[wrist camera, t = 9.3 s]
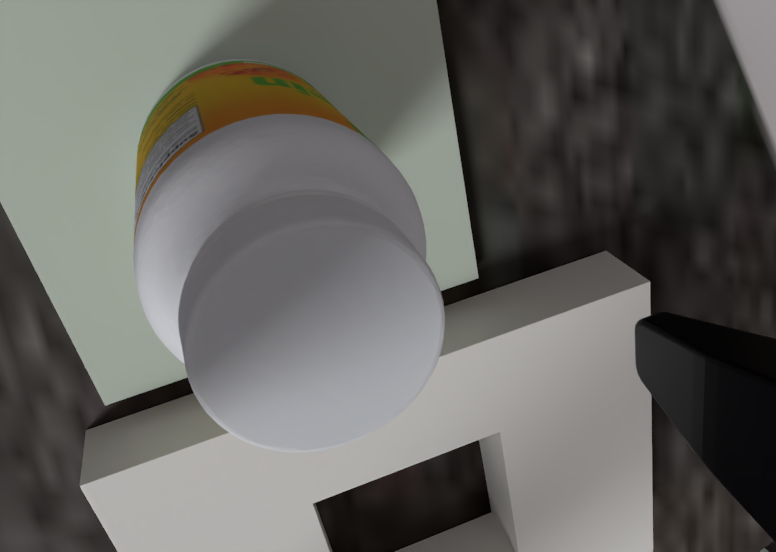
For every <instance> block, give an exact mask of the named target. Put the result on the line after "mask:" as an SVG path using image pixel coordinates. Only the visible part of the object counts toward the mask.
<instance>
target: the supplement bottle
mask: <svg viewBox="0 0 776 552" xmlns="http://www.w3.org/2000/svg"><path fill="white" fill-rule="evenodd" d="M133 261H134V273H135V280H136V287H137V292H138V295H139V299H140V302H141V305H142V308H143V310H144V313H145V315H146V317H147V319H148V321H149V323H150V325H151V327H152V328H153V330H154V332H155V334H156V335H157V336H158V338H159V339H160V340H161V342H162V343H163V344H164V345H165V346H166V347H167V348H168V350H169V351H170V352H171V353H172V354H173V355H174V356H175V357H177V358H178V359H179V360H180V361H181V362H183V363H184V364H185V369H186V372H187V376H188V380H189V383H190V385H191V388H192V390H193V393H194V394H195V396H196V398H197V399H198V401H199V403H200V404H201V406H202V407H203V409H204V410H205V411H206V412H207V414H208V415H209V416H210V417H211V418H212V419H213V420H214V421H215V422H216V423H217V424H218V425H220V426H221V427H222V428H223V429H225V430H226V431H228V432H229V433H231V434H232V435H233V436H235V437H237V438H239V439H241V440H243V441H245V442H247V443H250V444H253V445H256V446H258V447H262V448H265V449H269V450H275V451H282V452H294V453H297V452H315V451H321V450H328V449H332V448H336V447H339V446H343V445H346V444H349V443H352V442H354V441H357V440H359V439H362V438H364V437H366V436H368V435H370V434H372V433H373V432H375V431H376V430H378V429H380V428H381V427H383V426H385V425H386V424H388V423H389V422H390V421H392V420H393V419H394V418H395V417H397V416H398V415H399V414H400V413H401V412H402V411H403V410H405V409H406V408H407V407H408V405H409V404H410V403H411V402H412V401H413V400H414V399H415V398H416V397H417V396H418V394H419V393H420V392H421V390H422V389H423V388H424V386H425V384H426V383H427V381H428V379H429V378H430V376H431V374H432V373H433V371H434V369H435V367H436V364H437V362H438V359H439V356H440V353H441V349H442V345H443V340H444V333H445V310H444V303H443V298H442V294H441V291H440V287H439V285H438V283H437V280H436V278H435V276H434V274H433V272H432V270H431V268H430V267H429V265H428V264H427V263H426V234H425V229H424V223H423V219H422V215H421V212H420V209H419V206H418V203H417V201H416V198H415V195H414V193H413V191H412V189H411V188H410V186H409V185H408V183H407V181H406V180H405V178H404V177H403V175H402V174H401V172H400V171H399V170H398V169H397V168H396V166H395V165H394V164H393V163H392V162H391V160H390V159H389V158H388V157H387V156H386V155H385V154H384V153H383V152H382V151H381V150H380V149H379V148H378V147H377V146H376V145H375V144H374V143H373V142H372V141H371V140H370V139H368V138H367V137H366V136H365V135H364V134H363V133H362V132H361V131H360V130H359V129H358V128H357V127H356V126H354V125H353V124H352V123H351V122H350V121H349V120H348V119H347V118H346V117H345V116H344V115H343V114H342V113H341V112H339V111H338V110H337V109H336V108H335V107H334V106H333V105H332V104H331V103H330V102H329V101H328V100H327V99H326V98H325V97H324V96H323V95H322V94H321V93H320V92H319V91H318V90H317V89H316V88H314V87H313V86H312V85H311V84H309V83H308V82H307V81H306V80H304V79H303V78H301V77H300V76H298V75H297V74H295V73H293V72H291V71H289V70H287V69H285V68H283V67H281V66H278V65H275V64H272V63H268V62H264V61H259V60H251V59H230V60H223V61H218V62H214V63H210V64H207V65H205V66H202V67H200V68H197V69H195V70H193V71H191V72H189V73H188V74H186V75H185V76H183V77H182V78H180V79H179V80H177V81H176V82H175V83H174V84H173V85H172V86H170V87H169V88H168V89H167V90H166V91H165V92H164V93H163V95H162V96H161V97H160V98H159V100H158V101H157V102H156V103H155V105H154V106H153V108H152V109H151V111H150V113H149V115H148V116H147V118H146V121H145V123H144V126H143V128H142V132H141V135H140V139H139V144H138V150H137V160H136V186H135V223H134V252H133Z"/></svg>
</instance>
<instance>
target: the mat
mask: <svg viewBox="0 0 776 552" xmlns="http://www.w3.org/2000/svg"><path fill="white" fill-rule="evenodd" d="M230 59H251V60H259V61H264V62H268V63H272V64H275V65H278V66H281V67H283V68H285V69H287V70H289V71H291V72H293V73H295V74H297V75H298V76H300V77H301V78H303V79H304V80H306V81H307V82H308V83H309V84H311V85H312V86H313V87H314V88H316V89H317V90H318V91H319V92H320V93H321V94H322V95H323V96H324V97H325V98H326V99H327V100H328V101H329V102H330V103H331V104H332V105H333V106H334V107H335V108H336V109H337V110H338V111H339V112H341V113H342V114H343V115H344V116H345V117H346V118H347V119H348V120H349V121H350V122H351V123H352V124H353V125H354V126H356V127H357V128H358V129H359V130H360V131H361V132H362V133H363V134H364V135H365V136H366V137H367V138H368V139H370V140H371V141H372V142H373V143H374V144H375V145H376V146H377V147H378V148H379V149H380V150H381V151H382V152H383V153H384V154H385V155H386V156H387V157H388V158H389V159H390V160H391V162H392V163H393V164H394V165H395V166H396V168H397V169H398V170H399V171H400V172H401V174H402V175H403V177H404V178H405V180H406V181H407V183H408V185H409V186H410V188H411V189H412V191H413V193H414V195H415V198H416V201H417V203H418V206H419V209H420V212H421V215H422V219H423V223H424V229H425V234H426V263H427V264H428V265H429V267H430V268H431V270H432V272H433V274H434V276H435V278H436V280H437V283H438V285H439V287H440V291H443V290H446V289H448V288H451V287H454V286H457V285H460V284H463V283H466V282H469V281H472V280H475V279H478V278H479V277H478V271H477V264H476V257H475V251H474V244H473V238H472V231H471V225H470V218H469V211H468V205H467V198H466V192H465V185H464V179H463V172H462V165H461V159H460V152H459V146H458V139H457V132H456V126H455V119H454V113H453V106H452V100H451V93H450V86H449V80H448V73H447V67H446V60H445V54H444V47H443V40H442V34H441V27H440V21H439V14H438V8H437V1H436V0H0V202H1V204H2V206H3V208H4V210H5V212H6V214H7V216H8V218H9V220H10V221H11V223H12V225H13V227H14V229H15V231H16V233H17V235H18V237H19V239H20V241H21V243H22V245H23V247H24V249H25V251H26V253H27V255H28V256H29V258H30V260H31V262H32V264H33V266H34V268H35V270H36V272H37V274H38V276H39V278H40V280H41V282H42V284H43V286H44V288H45V290H46V291H47V293H48V295H49V297H50V299H51V301H52V303H53V305H54V307H55V309H56V311H57V313H58V315H59V317H60V319H61V321H62V323H63V325H64V326H65V328H66V330H67V332H68V334H69V336H70V338H71V340H72V342H73V344H74V346H75V348H76V350H77V352H78V354H79V356H80V358H81V360H82V362H83V363H84V365H85V367H86V369H87V371H88V373H89V375H90V377H91V379H92V381H93V383H94V385H95V387H96V389H97V391H98V393H99V395H100V397H101V398H102V400H103V402H104V404H105V406H106V405H108V404H111V403H114V402H117V401H120V400H123V399H126V398H129V397H132V396H135V395H138V394H141V393H144V392H147V391H150V390H152V389H155V388H158V387H161V386H164V385H167V384H170V383H173V382H176V381H179V380H182V379H185V378H188V376H187V372H186V369H185V364H184V363H183V362H181V361H180V360H179V359H178V358H177V357H175V356H174V355H173V354H172V353H171V352H170V351H169V350H168V348H167V347H166V346H165V345H164V344H163V343H162V342H161V340H160V339H159V338H158V336H157V335H156V334H155V332H154V330H153V328H152V327H151V325H150V323H149V321H148V319H147V317H146V315H145V313H144V310H143V308H142V305H141V302H140V299H139V295H138V292H137V287H136V280H135V273H134V261H133V252H134V223H135V186H136V160H137V150H138V144H139V139H140V135H141V132H142V128H143V126H144V123H145V121H146V118H147V116H148V115H149V113H150V111H151V109H152V108H153V106H154V105H155V103H156V102H157V101H158V100H159V98H160V97H161V96H162V95H163V93H164V92H165V91H166V90H167V89H168V88H169V87H170V86H172V85H173V84H174V83H175V82H176V81H177V80H179V79H180V78H182V77H183V76H185V75H186V74H188V73H189V72H191V71H193V70H195V69H197V68H200V67H202V66H205V65H207V64H210V63H214V62H218V61H223V60H230Z"/></svg>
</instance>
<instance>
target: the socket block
mask: <svg viewBox="0 0 776 552" xmlns="http://www.w3.org/2000/svg"><path fill="white" fill-rule="evenodd" d="M444 310H445V333H444V340H443V345H442V349H441V353H440V356H439V359H438V362H437V364H436V367H435V369H434V371H433V373H432V374H431V376H430V378H429V379H428V381H427V383H426V384H425V386H424V388H423V389H422V390H421V392H420V393H419V394H418V396H417V397H416V398H415V399H414V400H413V401H412V402H411V403H410V404H409V405H408V407H407V408H406V409H405V410H403V411H402V412H401V413H400V414H399V415H398V416H397V417H395V418H394V419H393V420H392V421H390V422H389V423H388V424H386V425H385V426H383V427H381V428H380V429H378V430H376V431H375V432H373V433H372V434H370V435H368V436H366V437H364V438H362V439H359V440H357V441H354V442H352V443H349V444H346V445H343V446H339V447H336V448H332V449H328V450H321V451H315V452H297V453H294V452H282V451H275V450H269V449H265V448H262V447H258V446H256V445H253V444H250V443H247V442H245V441H243V440H241V439H239V438H237V437H235V436H233V435H232V434H231V433H229V432H228V431H226V430H225V429H223V428H222V427H221V426H220V425H218V424H217V423H216V422H215V421H214V420H213V419H212V418H211V417H210V416H209V415H208V414H207V412H206V411H205V410H204V409H203V407H202V406H201V404H200V403H199V401H198V399H197V398H196V396H195V394H194V393H192V394H189V395H187V396H184V397H181V398H178V399H175V400H172V401H169V402H166V403H163V404H161V405H158V406H155V407H152V408H149V409H146V410H143V411H140V412H137V413H135V414H132V415H129V416H126V417H123V418H120V419H117V420H114V421H111V422H108V423H106V424H103V425H100V426H97V427H94V428H91V429H88V430H86V435H85V443H84V452H83V461H82V470H81V478H80V488H81V489H82V491H83V493H84V495H85V496H86V498H87V500H88V501H89V503H90V505H91V507H92V508H93V510H94V512H95V513H96V515H97V517H98V519H99V520H100V522H101V524H102V526H103V527H104V529H105V531H106V532H107V534H108V536H109V538H110V539H111V541H112V543H113V544H114V546H115V548H116V550H117V551H118V552H333V551H332V549H331V546H330V543H329V540H328V537H327V534H326V532H325V529H324V526H323V523H322V520H321V517H320V515H319V512H318V509H317V506H316V502H318V501H321V500H324V499H326V498H329V497H331V496H334V495H337V494H339V493H342V492H344V491H347V490H350V489H352V488H355V487H357V486H360V485H363V484H365V483H368V482H370V481H373V480H376V479H378V478H381V477H383V476H386V475H389V474H391V473H394V472H396V471H399V470H402V469H404V468H407V467H409V466H412V465H415V464H417V463H420V462H422V461H425V460H428V459H430V458H433V457H435V456H438V455H441V454H443V453H446V452H448V451H451V450H454V449H456V448H459V447H461V446H464V445H467V444H469V443H472V442H474V441H477V440H479V444H480V450H481V455H482V461H483V467H484V472H485V478H486V484H487V490H488V495H489V501H490V507H491V513H488V514H486V515H483V516H481V517H478V518H476V519H474V520H471V521H469V522H466V523H464V524H461V525H459V526H456V527H454V528H451V529H449V530H446V531H444V532H441V533H439V534H437V535H434V536H432V537H429V538H427V539H424V540H422V541H419V542H417V543H414V544H412V545H409V546H407V547H405V548H402V549H400V550H397V551H395V552H653V497H652V402H651V393H650V392H649V391H648V389H647V388H646V387H645V385H644V384H643V382H642V381H641V379H640V377H639V375H638V373H637V369H636V363H635V325H636V323H637V322H638V321H639V320H640V319H642V318H645V317H648V316H650V315H651V307H650V281H649V280H647V279H646V278H645V277H643V276H642V275H640V274H639V273H637V272H636V271H635V270H633V269H632V268H630V267H629V266H627V265H626V264H624V263H623V262H622V261H620V260H619V259H617V258H616V257H614V256H613V255H612V254H610V253H609V252H607V251H603V252H600V253H597V254H595V255H592V256H589V257H586V258H583V259H580V260H577V261H574V262H571V263H569V264H566V265H563V266H560V267H557V268H554V269H551V270H548V271H545V272H542V273H540V274H537V275H534V276H531V277H528V278H525V279H522V280H519V281H516V282H514V283H511V284H508V285H505V286H502V287H499V288H496V289H493V290H490V291H488V292H485V293H482V294H479V295H476V296H473V297H470V298H467V299H464V300H461V301H459V302H456V303H453V304H450V305H447V306H444Z"/></svg>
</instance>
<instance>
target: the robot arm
mask: <svg viewBox="0 0 776 552" xmlns="http://www.w3.org/2000/svg"><path fill="white" fill-rule="evenodd" d="M635 363H636V369H637V373H638V375H639V377H640V379H641V381H642V382H643V384H644V385H645V387H646V388H647V389H648V391H649V392H650V393H651V395H652V396H653V397H654V399H655V400H656V401H657V403H658V404H659V405H660V407H661V408H662V409H663V411H664V412H665V414H666V415H667V416H668V418H669V419H670V420H671V422H672V423H673V424H674V426H675V427H676V428H677V430H678V431H679V432H680V434H681V435H682V436H683V438H684V439H685V441H686V442H687V443H688V445H689V446H690V447H691V449H692V450H693V451H694V452H695V454H696V455H697V456H698V457H699V459H700V460H701V461H702V462H703V464H704V465H705V466H706V467H707V468H708V469H709V470H710V472H711V473H712V474H713V475H714V476H715V477H716V478H717V479H718V480H719V481H720V483H721V484H722V485H723V486H724V487H725V488H726V489H727V490H728V491H729V492H730V493H731V495H732V496H733V497H734V498H735V499H736V500H737V501H738V502H739V503H740V504H741V505H742V506H743V508H744V509H745V510H746V511H747V512H748V513H749V514H750V515H751V516H752V517H753V518H754V520H755V521H756V522H757V523H758V524H759V525H760V526H761V527H762V528H763V529H764V530H765V531H766V533H767V534H768V535H769V536H770V537H771V538H772V539H773V540H774V541H775V542H776V339H775V338H771V337H767V336H763V335H759V334H754V333H750V332H746V331H742V330H738V329H734V328H730V327H725V326H721V325H717V324H713V323H709V322H705V321H700V320H696V319H692V318H688V317H684V316H680V315H676V314H671V313H667V312H659V313H656V314H653V315H650V316H648V317H645V318H642V319H640V320H639V321H638V322H637V323H636V325H635Z"/></svg>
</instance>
